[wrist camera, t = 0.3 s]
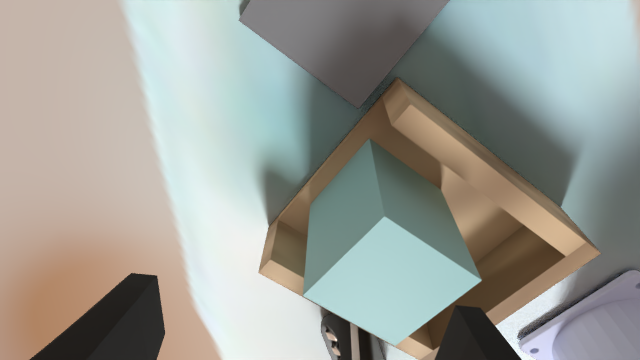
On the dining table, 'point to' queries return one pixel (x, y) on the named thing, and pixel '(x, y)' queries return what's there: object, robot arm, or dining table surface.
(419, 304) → the block
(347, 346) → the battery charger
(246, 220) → the dining table surface
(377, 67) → the coaster
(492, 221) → the crate
